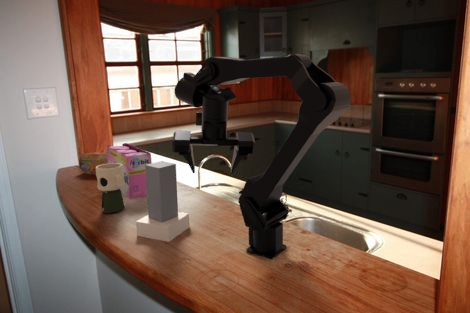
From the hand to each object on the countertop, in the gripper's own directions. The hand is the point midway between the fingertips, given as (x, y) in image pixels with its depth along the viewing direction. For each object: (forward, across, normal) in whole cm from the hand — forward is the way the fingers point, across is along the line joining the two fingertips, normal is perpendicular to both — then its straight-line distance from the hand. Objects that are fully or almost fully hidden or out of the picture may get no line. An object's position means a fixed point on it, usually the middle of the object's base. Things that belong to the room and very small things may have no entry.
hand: (212, 172), depth 92 cm
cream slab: (+13, +12, +7) cm, 19 cm away
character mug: (+19, +27, -8) cm, 34 cm away
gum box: (+26, +26, -28) cm, 47 cm away
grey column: (+9, +12, +6) cm, 16 cm away
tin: (+34, +42, -49) cm, 73 cm away
